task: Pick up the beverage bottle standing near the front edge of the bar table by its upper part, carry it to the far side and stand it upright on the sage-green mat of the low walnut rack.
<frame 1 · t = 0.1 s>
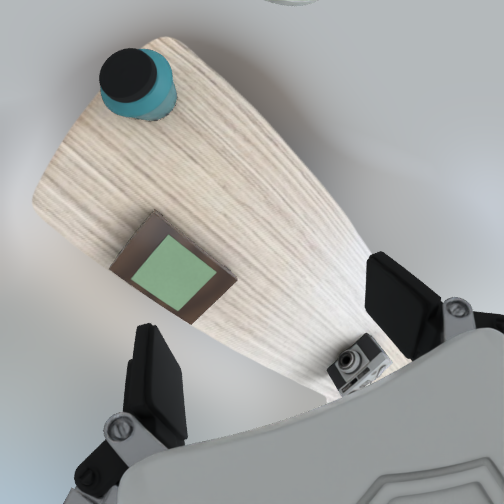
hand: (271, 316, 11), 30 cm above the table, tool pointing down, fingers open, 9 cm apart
shelf: (173, 264, 42), on the table
camera: (346, 351, 62), on the table
beverage bottle: (155, 100, 31), on the table
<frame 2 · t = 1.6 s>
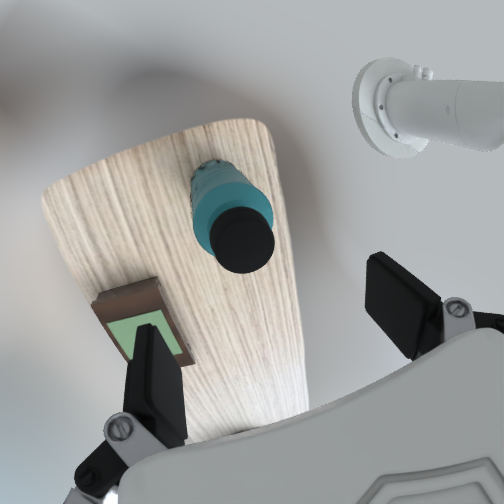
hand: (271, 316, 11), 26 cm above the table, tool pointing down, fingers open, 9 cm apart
shelf: (146, 324, 41), on the table
beverage bottle: (214, 182, 35), on the table
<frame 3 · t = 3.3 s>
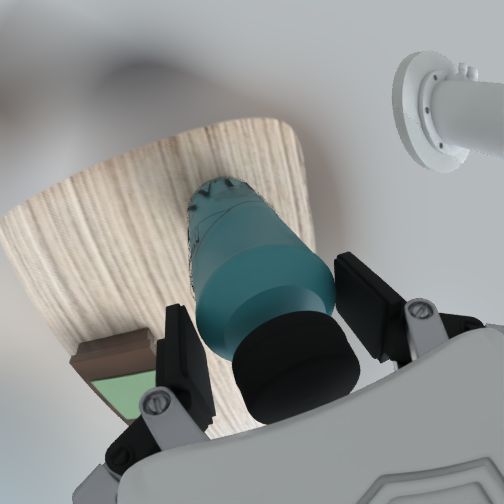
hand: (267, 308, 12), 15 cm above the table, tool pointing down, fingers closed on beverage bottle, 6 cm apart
shelf: (140, 377, 32), on the table
beverage bottle: (221, 207, 25), on the table, touching gripper
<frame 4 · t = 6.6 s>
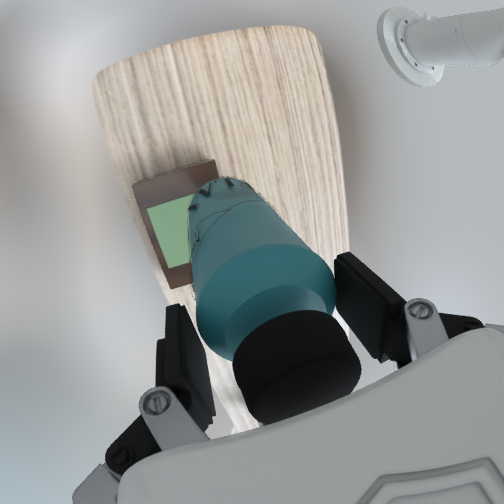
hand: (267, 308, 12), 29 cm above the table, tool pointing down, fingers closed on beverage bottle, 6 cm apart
shelf: (189, 221, 39), on the table
beverage bottle: (221, 207, 25), point 14 cm above the table, touching gripper
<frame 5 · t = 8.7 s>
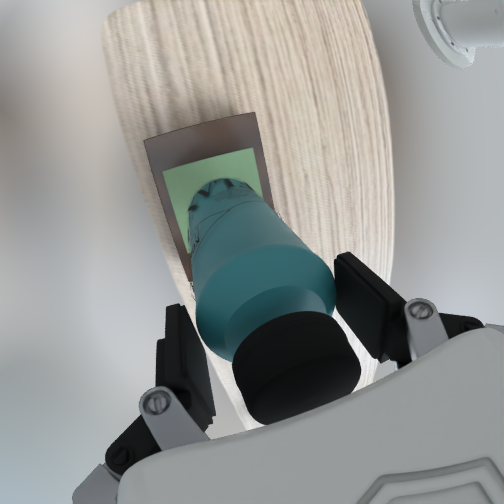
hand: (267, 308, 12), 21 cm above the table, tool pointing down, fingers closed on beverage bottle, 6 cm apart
shelf: (214, 193, 30), on the table
beverage bottle: (221, 207, 25), point 6 cm above the table, touching gripper
when the fingers open (19 cm above the table, at t = 10.0 s): beverage bottle stays where it is, resting on shelf.
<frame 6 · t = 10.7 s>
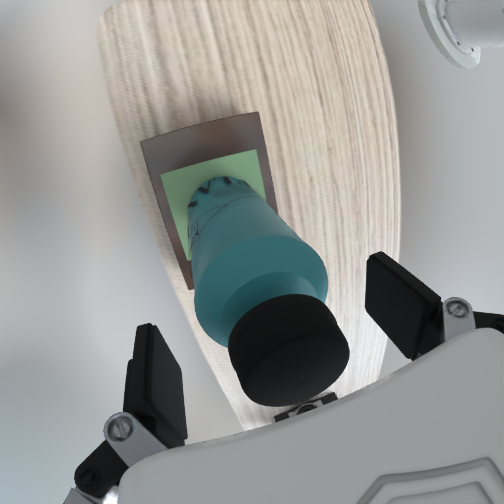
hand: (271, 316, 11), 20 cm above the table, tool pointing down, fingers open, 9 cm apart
shelf: (215, 197, 29), on the table
camera: (304, 404, 51), on the table
beverage bottle: (220, 205, 26), point 4 cm above the table, touching shelf
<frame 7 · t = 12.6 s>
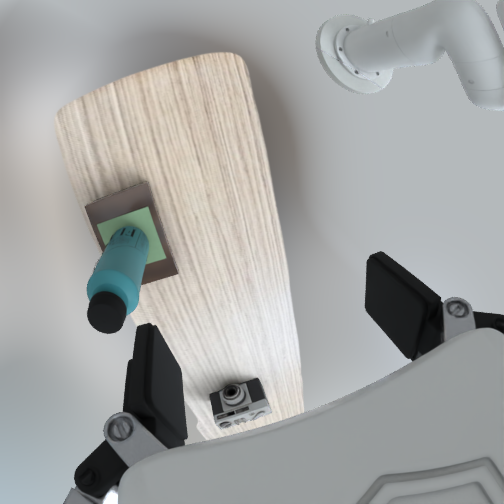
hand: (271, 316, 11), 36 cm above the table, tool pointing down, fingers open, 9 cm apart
shelf: (134, 233, 44), on the table
camera: (233, 386, 66), on the table
beverage bottle: (131, 240, 41), point 4 cm above the table, touching shelf
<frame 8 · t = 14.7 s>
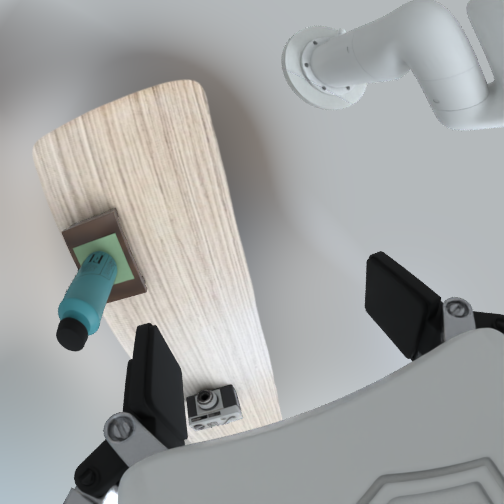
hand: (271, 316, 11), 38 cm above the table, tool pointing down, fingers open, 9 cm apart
shelf: (107, 254, 47), on the table
camera: (208, 391, 69), on the table
beverage bottle: (103, 262, 43), point 4 cm above the table, touching shelf
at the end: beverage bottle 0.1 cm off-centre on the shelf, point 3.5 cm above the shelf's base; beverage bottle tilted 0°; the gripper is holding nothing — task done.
